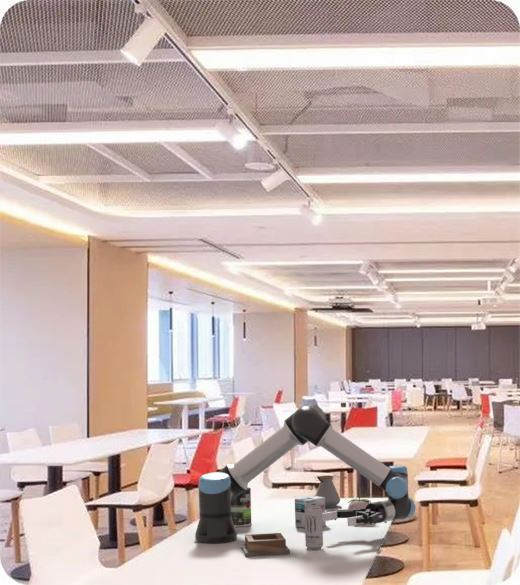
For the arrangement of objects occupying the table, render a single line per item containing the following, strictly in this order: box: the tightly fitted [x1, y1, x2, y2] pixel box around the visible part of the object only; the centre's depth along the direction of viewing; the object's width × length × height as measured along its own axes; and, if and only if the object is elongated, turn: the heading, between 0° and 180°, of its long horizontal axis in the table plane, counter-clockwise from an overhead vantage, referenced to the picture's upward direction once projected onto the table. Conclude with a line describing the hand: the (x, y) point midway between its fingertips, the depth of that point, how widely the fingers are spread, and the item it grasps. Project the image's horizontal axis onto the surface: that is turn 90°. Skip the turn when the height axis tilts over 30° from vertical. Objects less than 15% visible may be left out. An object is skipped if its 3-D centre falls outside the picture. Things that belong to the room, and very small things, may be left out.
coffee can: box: [231, 486, 252, 528], centre depth 391 cm, size 10×10×14 cm
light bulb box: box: [294, 495, 327, 529], centre depth 384 cm, size 11×7×11 cm, turn 131°
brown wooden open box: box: [240, 532, 291, 558], centre depth 338 cm, size 15×15×5 cm
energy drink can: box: [304, 503, 324, 551], centre depth 341 cm, size 6×6×15 cm
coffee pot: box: [314, 475, 341, 509], centre depth 424 cm, size 21×12×15 cm, turn 162°
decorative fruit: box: [347, 496, 372, 509], centre depth 388 cm, size 9×8×10 cm
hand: (335, 519), depth 347 cm, fingers open, 13 cm apart
